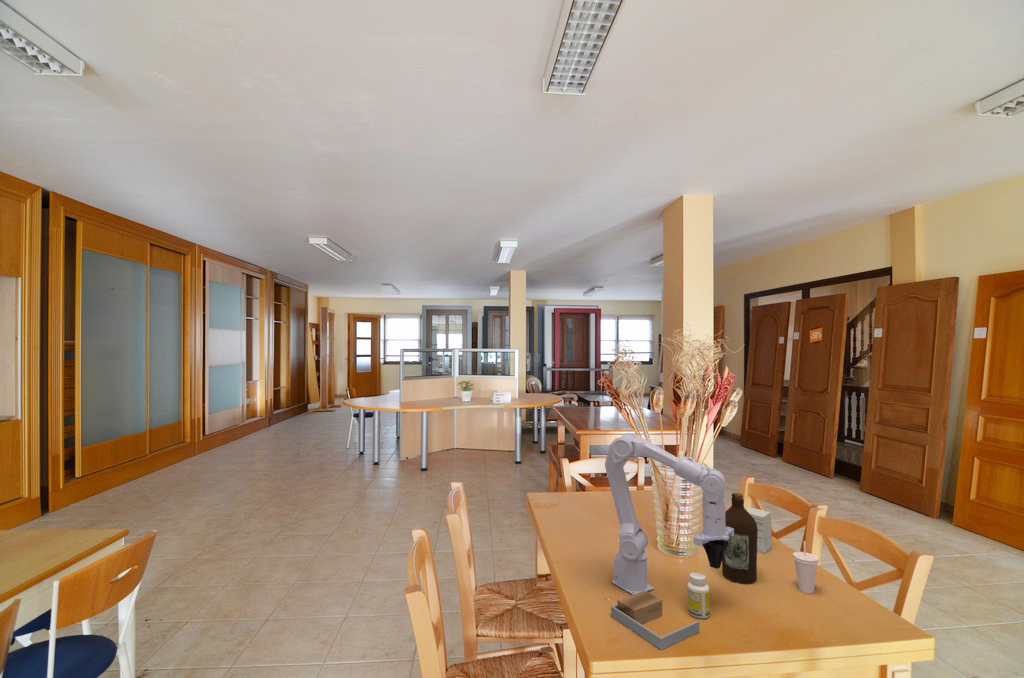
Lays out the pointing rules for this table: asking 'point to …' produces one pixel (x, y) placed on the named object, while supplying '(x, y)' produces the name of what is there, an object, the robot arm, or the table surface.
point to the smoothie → (805, 570)
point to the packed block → (641, 606)
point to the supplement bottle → (698, 596)
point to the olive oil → (740, 544)
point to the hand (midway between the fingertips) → (714, 567)
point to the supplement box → (762, 529)
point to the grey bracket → (651, 636)
